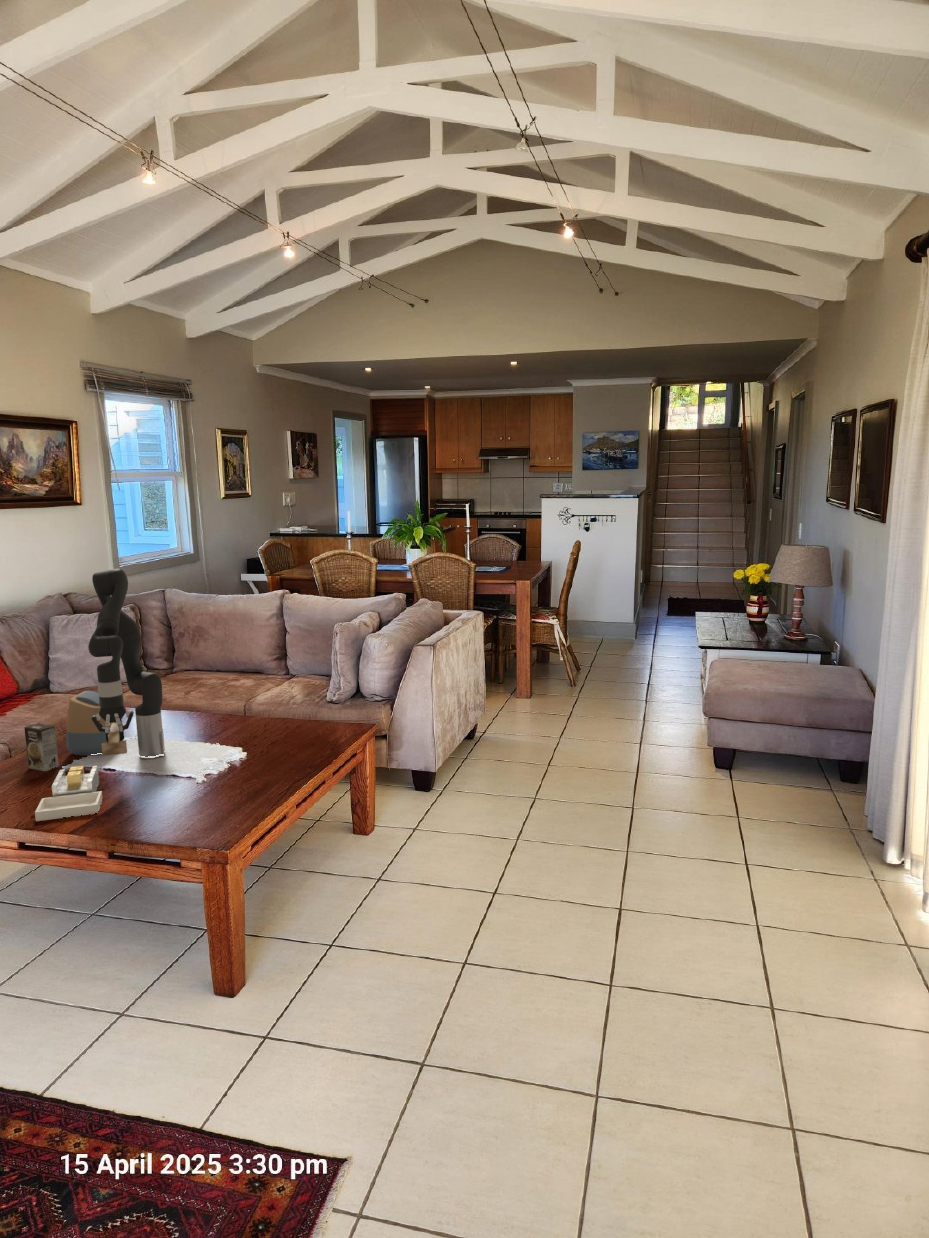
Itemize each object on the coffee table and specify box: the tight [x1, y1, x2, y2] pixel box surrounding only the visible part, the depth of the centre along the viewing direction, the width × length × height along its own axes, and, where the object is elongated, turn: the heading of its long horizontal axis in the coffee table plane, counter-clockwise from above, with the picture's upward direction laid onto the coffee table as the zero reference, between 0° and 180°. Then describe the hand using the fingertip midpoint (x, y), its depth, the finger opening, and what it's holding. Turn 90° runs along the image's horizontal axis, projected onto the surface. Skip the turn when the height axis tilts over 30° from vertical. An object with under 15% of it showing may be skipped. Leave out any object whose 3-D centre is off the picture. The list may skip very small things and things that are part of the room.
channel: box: [51, 765, 100, 797], centre depth 272 cm, size 12×16×6 cm
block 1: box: [68, 765, 85, 781], centre depth 274 cm, size 4×4×4 cm
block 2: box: [66, 771, 83, 787], centre depth 270 cm, size 4×4×4 cm
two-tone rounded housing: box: [65, 690, 117, 756], centre depth 316 cm, size 17×17×23 cm
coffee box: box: [23, 722, 60, 772], centre depth 298 cm, size 9×6×16 cm
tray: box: [34, 790, 104, 822], centre depth 258 cm, size 18×12×3 cm, turn 108°
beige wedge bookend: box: [102, 723, 128, 757], centre depth 275 cm, size 8×14×7 cm, turn 19°
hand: (115, 741), depth 274 cm, fingers closed on beige wedge bookend, 3 cm apart
